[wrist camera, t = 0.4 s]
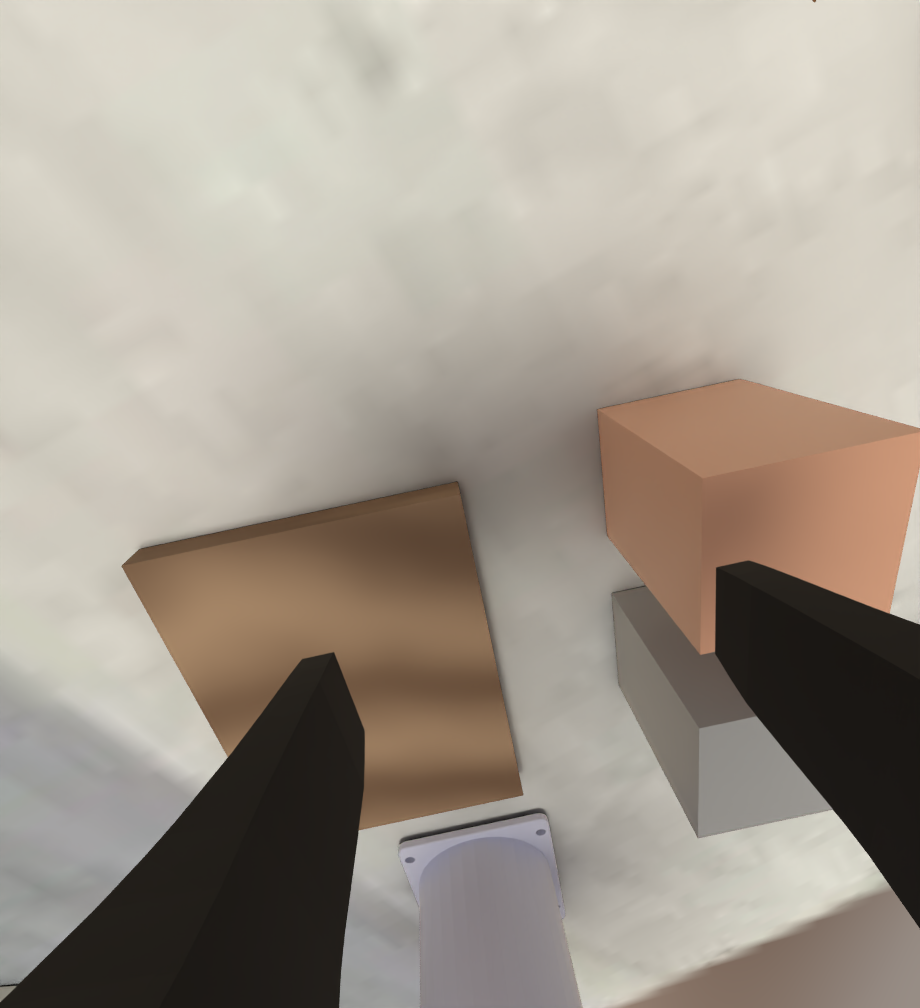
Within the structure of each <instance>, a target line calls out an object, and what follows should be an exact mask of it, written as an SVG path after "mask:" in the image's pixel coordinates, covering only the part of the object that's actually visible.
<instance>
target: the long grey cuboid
mask: <svg viewBox="0 0 920 1008" xmlns="http://www.w3.org/2000/svg"><path fill="white" fill-rule="evenodd" d="M612 604H613V617H614V630H615V643H616V656H617V668H618V681H619V686H620V688H621V690H622V692H623V694H624V696H625V698H626V700H627V702H628V704H629V706H630V708H631V710H632V712H633V713H634V715H635V717H636V719H637V721H638V723H639V725H640V727H641V729H642V731H643V733H644V735H645V737H646V739H647V741H648V742H649V744H650V746H651V748H652V750H653V752H654V754H655V756H656V758H657V760H658V762H659V764H660V766H661V768H662V770H663V771H664V773H665V775H666V777H667V779H668V781H669V783H670V785H671V787H672V789H673V791H674V793H675V795H676V797H677V799H678V800H679V802H680V804H681V806H682V808H683V810H684V812H685V814H686V816H687V818H688V820H689V822H690V824H691V826H692V828H693V830H694V831H695V833H696V835H697V837H698V838H702V837H706V836H711V835H716V834H720V833H725V832H730V831H735V830H739V829H744V828H749V827H753V826H758V825H763V824H767V823H772V822H777V821H782V820H786V819H791V818H796V817H800V816H805V815H810V814H814V813H819V812H824V811H828V810H833V809H832V808H831V807H830V805H829V804H828V803H827V802H826V800H825V799H824V798H823V797H822V796H821V794H820V793H819V792H818V791H817V789H816V788H815V787H814V786H813V785H812V783H811V782H810V781H809V780H808V779H807V777H806V776H805V775H804V774H803V772H802V771H801V770H800V769H799V768H798V766H797V765H796V764H795V763H794V762H793V760H792V759H791V758H790V757H789V755H788V754H787V753H786V752H785V751H784V749H783V748H782V747H781V746H780V744H779V743H778V742H777V741H776V740H775V738H774V737H773V736H772V735H771V733H770V732H769V731H768V730H767V728H766V727H765V726H764V725H763V723H762V722H761V721H760V720H759V719H758V717H757V716H756V715H755V714H754V712H753V711H752V710H751V708H750V707H749V706H748V705H747V703H746V702H745V700H744V699H743V697H742V696H741V694H740V693H739V691H738V690H737V688H736V687H735V685H734V684H733V682H732V681H731V679H730V677H729V676H728V674H727V672H726V671H725V669H724V668H723V666H722V664H721V663H720V661H719V659H718V658H717V656H716V654H715V652H712V653H707V654H702V655H700V654H699V653H698V651H697V650H696V649H695V647H694V646H693V645H692V644H691V642H690V641H689V640H688V639H687V637H686V636H685V635H684V633H683V632H682V631H681V630H680V628H679V627H678V626H677V624H676V623H675V622H674V621H673V619H672V618H671V617H670V616H669V614H668V613H667V612H666V610H665V609H664V608H663V607H662V605H661V604H660V603H659V601H658V600H657V599H656V598H655V596H654V595H653V594H652V593H651V591H650V590H649V589H648V587H647V586H644V587H639V588H635V589H630V590H625V591H621V592H616V593H612Z"/></svg>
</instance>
